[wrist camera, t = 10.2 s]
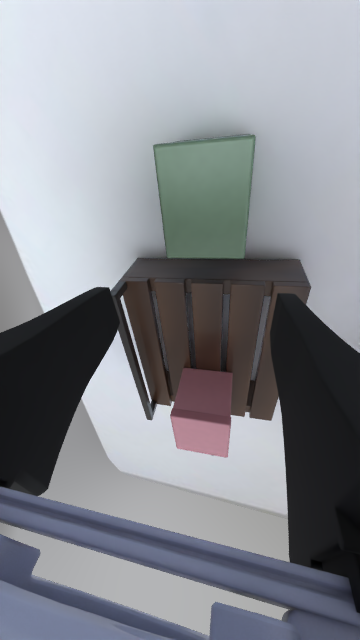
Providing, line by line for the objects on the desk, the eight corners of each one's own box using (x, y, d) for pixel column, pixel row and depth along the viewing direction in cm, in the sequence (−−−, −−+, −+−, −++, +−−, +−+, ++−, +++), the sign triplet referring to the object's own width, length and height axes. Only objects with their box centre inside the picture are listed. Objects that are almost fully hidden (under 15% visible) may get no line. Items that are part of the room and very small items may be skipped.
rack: (300, 259, 18) (319, 305, 13) (268, 388, 28) (273, 440, 23) (137, 258, 20) (106, 295, 16) (161, 375, 30) (146, 419, 26)
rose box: (233, 372, 21) (230, 426, 17) (230, 407, 24) (227, 458, 21) (182, 366, 22) (169, 416, 18) (186, 401, 25) (176, 448, 22)
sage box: (252, 132, 14) (255, 134, 10) (244, 230, 17) (244, 259, 13) (175, 140, 15) (152, 145, 11) (182, 231, 18) (166, 258, 14)
